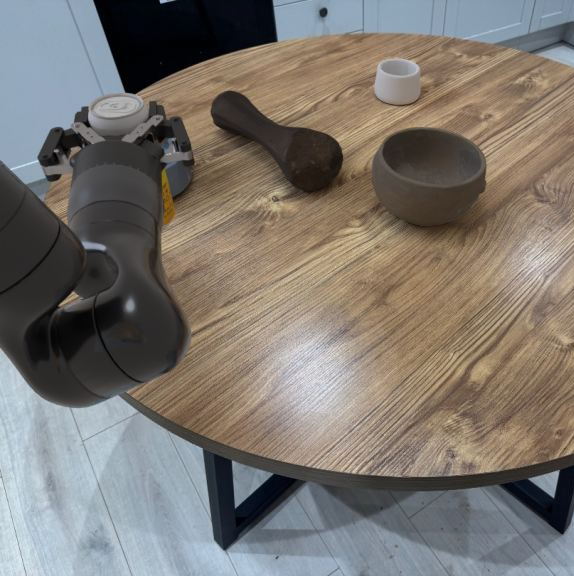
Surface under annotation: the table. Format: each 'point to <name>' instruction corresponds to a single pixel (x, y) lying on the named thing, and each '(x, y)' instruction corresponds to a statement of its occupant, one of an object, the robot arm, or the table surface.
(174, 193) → the blue bowl
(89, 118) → the beer can
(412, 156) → the bowl
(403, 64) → the white tapered round piece
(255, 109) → the dark brown pestle
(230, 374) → the table surface
